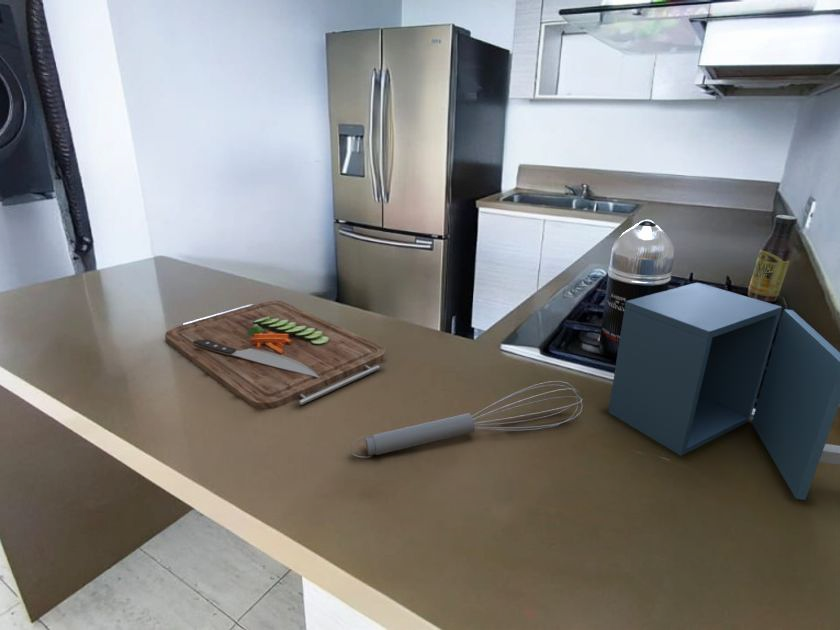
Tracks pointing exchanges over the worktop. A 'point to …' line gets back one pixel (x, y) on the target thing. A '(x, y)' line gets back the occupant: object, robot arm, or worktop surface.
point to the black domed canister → (634, 276)
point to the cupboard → (691, 363)
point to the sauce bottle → (773, 261)
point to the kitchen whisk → (448, 427)
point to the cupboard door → (799, 403)
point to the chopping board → (275, 352)
